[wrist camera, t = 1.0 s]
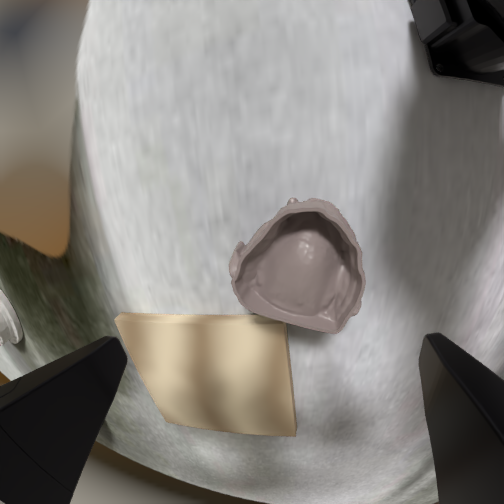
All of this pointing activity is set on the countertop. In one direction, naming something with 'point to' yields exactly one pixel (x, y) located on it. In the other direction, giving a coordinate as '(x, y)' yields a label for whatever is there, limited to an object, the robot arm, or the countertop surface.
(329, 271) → the dental mold
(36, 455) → the robot arm
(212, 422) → the birch pad
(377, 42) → the countertop surface
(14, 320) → the mechanical component
